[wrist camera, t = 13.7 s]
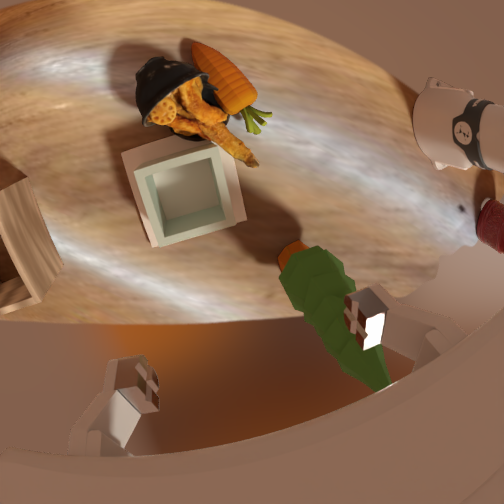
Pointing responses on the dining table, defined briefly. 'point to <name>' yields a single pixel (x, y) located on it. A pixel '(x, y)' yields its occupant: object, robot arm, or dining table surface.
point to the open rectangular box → (183, 188)
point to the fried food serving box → (26, 248)
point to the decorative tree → (329, 309)
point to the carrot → (229, 85)
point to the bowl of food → (186, 105)
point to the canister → (492, 225)
